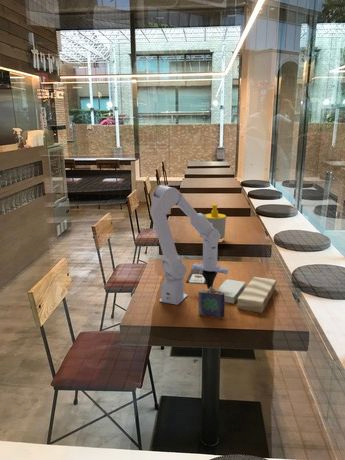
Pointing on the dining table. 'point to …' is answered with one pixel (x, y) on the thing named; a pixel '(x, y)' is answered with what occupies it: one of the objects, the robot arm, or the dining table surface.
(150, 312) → the dining table surface
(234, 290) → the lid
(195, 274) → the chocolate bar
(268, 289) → the striped cream block
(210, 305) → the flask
